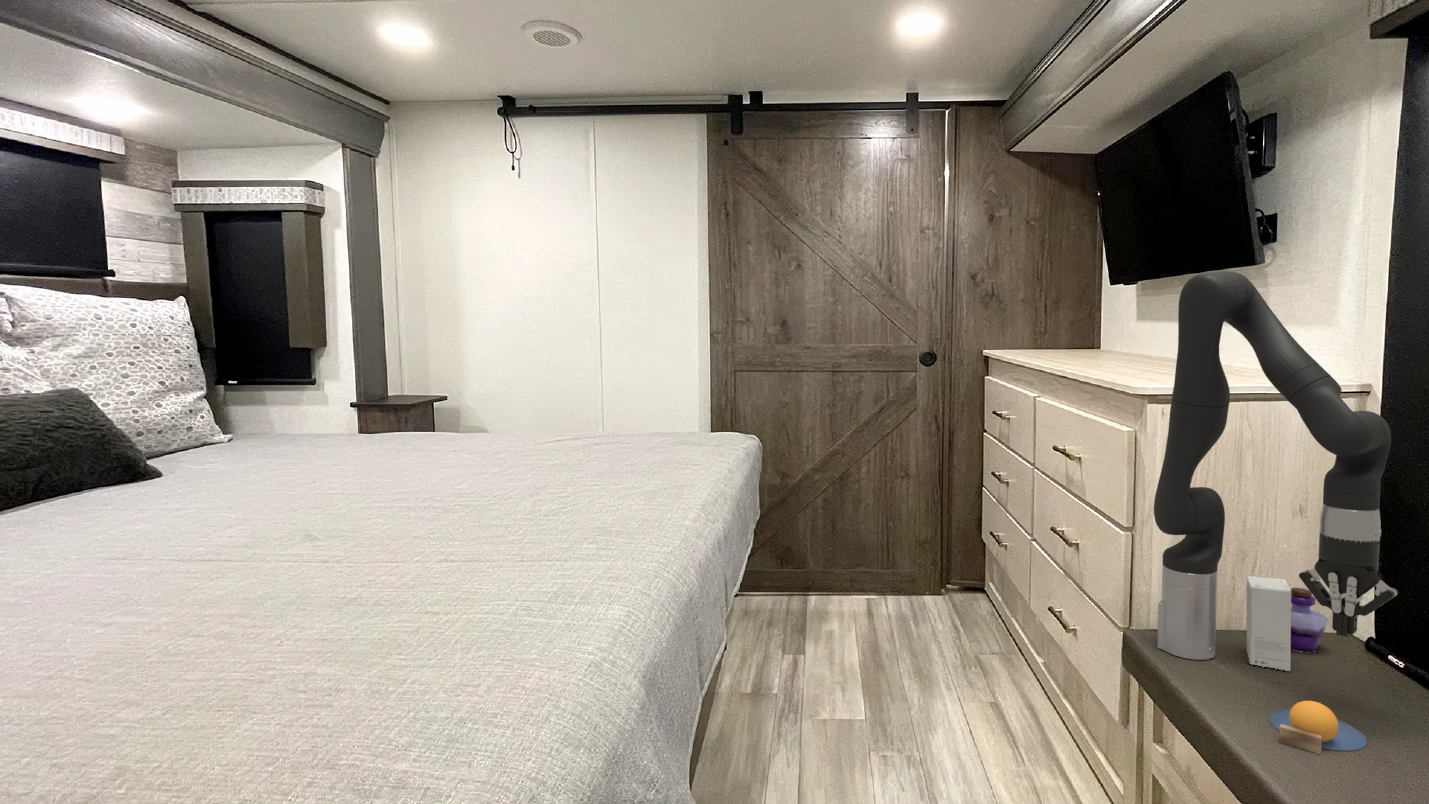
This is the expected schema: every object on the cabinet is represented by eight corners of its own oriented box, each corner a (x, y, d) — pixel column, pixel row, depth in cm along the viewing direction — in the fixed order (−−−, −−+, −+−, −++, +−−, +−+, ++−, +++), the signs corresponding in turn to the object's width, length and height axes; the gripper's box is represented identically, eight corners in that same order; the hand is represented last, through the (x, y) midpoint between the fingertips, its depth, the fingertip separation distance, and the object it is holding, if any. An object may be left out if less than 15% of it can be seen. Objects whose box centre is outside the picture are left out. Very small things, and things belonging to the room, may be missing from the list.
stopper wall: (1279, 742, 115) (1279, 726, 115) (1280, 739, 116) (1281, 723, 116) (1320, 754, 112) (1320, 738, 111) (1321, 751, 112) (1322, 735, 112)
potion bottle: (1261, 640, 152) (1263, 583, 151) (1299, 637, 153) (1301, 580, 152) (1298, 658, 143) (1300, 598, 142) (1339, 654, 144) (1341, 595, 143)
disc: (1262, 731, 119) (1262, 729, 119) (1278, 703, 127) (1278, 702, 127) (1361, 760, 110) (1361, 759, 110) (1371, 729, 118) (1371, 728, 118)
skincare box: (1290, 672, 138) (1293, 591, 136) (1247, 665, 141) (1249, 586, 140) (1285, 655, 145) (1287, 578, 143) (1243, 649, 148) (1245, 573, 147)
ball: (1282, 709, 115) (1298, 686, 118) (1282, 737, 118) (1298, 714, 120) (1329, 729, 111) (1345, 704, 113) (1328, 757, 113) (1344, 733, 115)
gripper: (1291, 528, 124) (1287, 627, 126) (1393, 546, 113) (1387, 654, 115) (1309, 521, 128) (1305, 617, 130) (1410, 537, 117) (1404, 642, 119)
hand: (1344, 634), depth 122 cm, fingers closed
